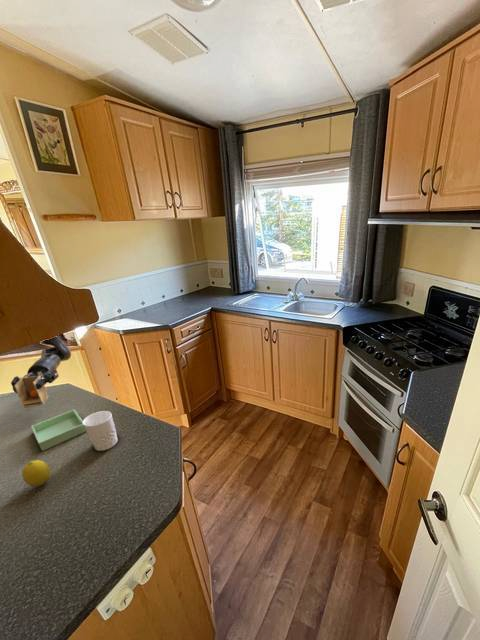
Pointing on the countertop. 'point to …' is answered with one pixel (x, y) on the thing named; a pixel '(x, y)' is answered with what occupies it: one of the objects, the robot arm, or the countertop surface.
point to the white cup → (101, 430)
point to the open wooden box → (24, 390)
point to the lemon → (36, 473)
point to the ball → (33, 393)
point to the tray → (58, 429)
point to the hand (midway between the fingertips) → (26, 388)
